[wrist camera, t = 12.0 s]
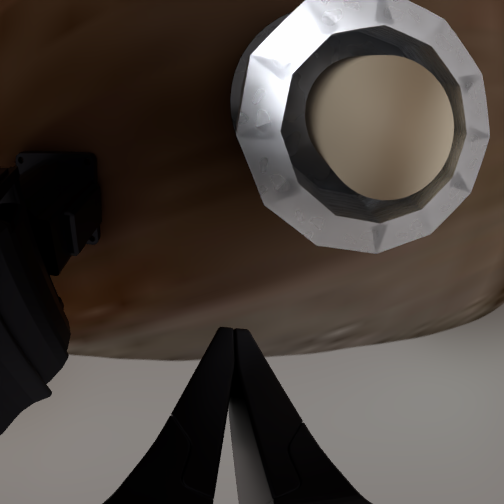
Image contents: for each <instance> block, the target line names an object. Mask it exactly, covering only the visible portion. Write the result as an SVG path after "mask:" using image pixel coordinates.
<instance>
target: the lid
mask: <svg viewBox="0 0 504 504" xmlns="http://www.w3.org/2000/svg"><path fill="white" fill-rule="evenodd" d="M305 122H306V128H307V132H308V135H309V138H310V140H311V142H312V144H313V146H314V148H315V149H316V151H317V152H318V153H319V155H320V156H321V157H322V158H323V159H324V161H325V162H326V163H327V164H328V165H329V166H330V168H331V169H332V170H333V171H334V172H335V174H336V175H337V176H338V177H339V178H340V179H341V180H342V181H343V183H344V184H346V185H347V186H348V187H349V188H351V189H352V190H354V191H355V192H357V193H359V194H361V195H363V196H366V197H369V198H372V199H378V200H395V199H400V198H404V197H407V196H410V195H412V194H414V193H416V192H418V191H420V190H421V189H423V188H424V187H425V186H427V185H428V184H429V183H430V182H431V181H432V180H433V179H434V178H435V177H436V176H437V175H438V173H439V172H440V171H441V169H442V168H443V166H444V164H445V162H446V160H447V158H448V156H449V153H450V150H451V146H452V142H453V135H454V120H453V113H452V108H451V105H450V102H449V99H448V96H447V94H446V92H445V90H444V89H443V87H442V85H441V84H440V82H439V81H438V80H437V79H436V78H435V76H434V75H433V74H432V73H430V72H429V71H428V70H427V69H426V68H424V67H423V66H422V65H420V64H418V63H416V62H414V61H413V60H410V59H407V58H404V57H400V56H395V55H361V56H351V57H347V58H344V59H341V60H339V61H336V62H334V63H333V64H331V65H330V66H328V67H327V68H326V69H325V70H324V71H322V72H321V74H320V75H319V76H318V77H317V78H316V80H315V81H314V83H313V85H312V87H311V89H310V91H309V93H308V97H307V100H306V107H305Z"/></svg>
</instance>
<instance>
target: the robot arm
mask: <svg viewBox="0 0 504 504" xmlns="http://www.w3.org/2000/svg"><path fill="white" fill-rule="evenodd" d="M21 157H22V158H23V161H22V160H21ZM86 158H88V159H89V160H90V162H91V163H90V164H88V163H87V162H86ZM101 221H102V218H101V201H100V188H99V186H98V185H97V160H96V157H95V155H94V154H92V153H87V152H43V151H30V152H21V153H19V154H18V155H17V156H16V166H15V167H10V168H0V435H1V434H2V433H3V432H4V431H5V430H6V429H7V428H8V426H9V425H10V424H11V423H12V422H13V420H14V419H15V418H16V417H17V416H18V415H19V414H20V413H21V412H22V411H23V410H24V409H26V408H27V407H29V406H30V405H32V404H33V403H35V402H37V401H40V400H42V399H45V398H48V397H50V396H51V394H52V391H51V390H50V389H49V387H48V386H47V385H46V384H47V383H48V382H50V380H52V378H53V377H54V376H55V375H56V374H57V373H58V372H59V371H60V370H61V369H62V367H63V366H64V364H65V362H66V360H67V359H68V356H69V355H68V352H67V349H68V344H69V339H70V335H71V333H70V327H69V321H68V319H67V317H66V315H65V313H64V311H63V308H64V304H63V302H62V300H61V298H60V297H58V294H57V292H56V290H55V287H54V285H53V283H52V280H51V278H50V275H54V276H58V275H59V274H60V272H61V271H62V269H63V268H64V266H65V265H66V263H67V262H68V260H69V259H70V257H71V256H77V255H78V254H79V253H80V252H81V250H82V249H83V247H84V246H85V244H92V245H94V244H97V242H98V241H99V239H100V228H99V224H100V223H101ZM91 236H94V237H95V239H94V238H92V237H91ZM228 409H229V420H230V429H231V440H232V448H233V457H234V466H235V476H236V484H237V492H238V500H239V504H372V503H371V502H369V501H368V500H366V499H365V498H364V497H363V496H362V495H360V493H359V492H358V491H357V490H356V489H355V488H354V487H353V486H352V485H351V484H350V482H349V481H348V480H347V479H346V478H345V477H344V476H343V474H342V473H341V472H340V471H339V470H338V469H337V468H336V466H335V465H334V464H333V463H332V462H331V460H330V459H329V458H328V457H327V455H326V454H325V453H324V452H323V450H322V449H321V448H320V447H319V445H318V444H317V442H316V440H315V439H314V438H313V436H312V435H311V433H310V432H309V430H308V428H307V427H306V425H305V423H302V419H301V417H300V416H299V414H298V412H297V411H296V409H295V407H294V406H293V404H292V403H291V401H290V399H289V398H288V396H287V394H286V393H285V391H284V389H283V388H282V386H281V384H280V383H279V381H278V379H277V378H276V376H275V374H274V373H273V371H272V369H271V368H270V366H269V364H268V362H267V361H266V359H265V357H264V356H263V354H262V352H261V350H260V349H259V347H258V345H257V343H256V342H255V340H254V338H253V337H252V335H251V333H250V331H249V330H247V329H238V328H236V329H234V330H233V328H228V327H219V328H218V330H217V332H216V334H215V336H214V337H213V339H212V341H211V343H210V345H209V346H208V348H207V350H206V352H205V354H204V356H203V357H202V359H201V361H200V363H199V365H198V367H197V368H196V370H195V372H194V374H193V375H192V377H191V379H190V381H189V383H188V385H187V386H186V388H185V390H184V392H183V394H182V395H181V397H180V399H179V401H178V403H177V404H176V406H175V408H174V410H173V412H172V413H171V416H170V417H169V419H168V420H167V422H166V424H165V426H164V427H163V429H162V431H161V432H160V434H159V435H158V437H157V439H156V440H155V442H154V443H153V445H152V446H151V447H150V449H149V450H148V452H147V453H146V454H145V456H144V457H143V458H142V459H141V461H140V462H139V463H138V464H137V466H136V467H135V468H134V469H133V471H132V472H131V473H130V474H129V476H128V477H127V478H126V479H125V481H124V482H123V483H122V484H121V486H120V487H119V488H118V489H117V490H116V491H115V492H114V493H113V494H112V495H111V496H110V497H109V498H108V499H107V500H106V501H105V502H104V503H103V504H213V499H214V494H215V488H216V482H217V475H218V468H219V463H220V457H221V450H222V444H223V438H224V430H225V425H226V418H227V412H228Z"/></svg>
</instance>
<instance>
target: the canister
mask: <svg viewBox="0 0 504 504" xmlns="http://www.w3.org/2000/svg"><path fill="white" fill-rule="evenodd" d="M361 55H395V56H400V57H404V58H407V59H410V60H413V61H414V62H416V63H418V64H420V65H422V66H423V67H424V68H426V69H427V70H428V71H429V72H430V73H432V74H433V75H434V76H435V78H436V79H437V80H438V81H439V82H440V84H441V85H442V87H443V89H444V90H445V92H446V94H447V96H448V99H449V102H450V105H451V108H452V113H453V120H454V135H453V142H452V146H451V150H450V153H449V156H448V158H447V160H446V162H445V164H444V166H443V168H442V169H441V171H440V172H439V173H438V175H437V176H436V177H435V178H434V179H433V180H432V181H431V182H430V183H429V184H428V185H427V186H425V187H424V188H423V189H421V190H420V191H418V192H416V193H414V194H412V195H410V196H407V197H404V198H400V199H395V200H378V199H372V198H369V197H366V196H363V195H361V194H359V193H357V192H355V191H354V190H352V189H351V188H349V187H348V186H347V185H346V184H344V183H343V181H342V180H341V179H340V178H339V177H338V176H337V175H336V174H335V172H334V171H333V170H332V169H331V168H330V166H329V165H328V164H327V163H326V162H325V161H324V159H323V158H322V157H321V156H320V155H319V153H318V152H317V151H316V149H315V148H314V146H313V144H312V142H311V140H310V138H309V135H308V132H307V128H306V122H305V107H306V100H307V97H308V93H309V91H310V89H311V87H312V85H313V83H314V81H315V80H316V78H317V77H318V76H319V75H320V74H321V72H322V71H324V70H325V69H326V68H327V67H328V66H330V65H331V64H333V63H334V62H336V61H339V60H341V59H344V58H347V57H351V56H361ZM230 102H231V116H232V121H233V127H234V130H235V133H236V136H237V139H238V141H239V143H240V146H241V148H242V151H243V153H244V155H245V158H246V160H247V163H248V165H249V168H250V170H251V173H252V175H253V178H254V180H255V183H256V186H257V188H258V191H259V193H260V196H261V198H262V201H263V204H264V206H266V207H267V208H269V209H270V210H271V211H273V212H274V213H275V214H277V215H278V216H279V217H280V218H282V219H283V220H284V221H286V222H287V223H288V224H290V225H291V226H292V227H294V228H295V229H296V230H297V231H299V232H300V233H301V234H303V235H304V236H305V237H306V238H308V239H309V240H310V241H312V242H313V243H314V244H315V245H316V246H324V247H331V248H339V249H346V250H353V251H360V252H368V253H375V254H377V253H380V252H383V251H385V250H388V249H391V248H394V247H397V246H399V245H402V244H405V243H408V242H410V241H413V240H416V239H419V238H421V237H424V236H427V235H429V234H431V233H432V232H433V231H434V230H435V229H436V228H437V227H438V226H439V225H440V224H441V223H442V222H443V221H444V220H445V219H446V218H447V217H448V216H449V215H450V214H451V213H452V212H453V211H454V210H455V209H456V208H457V207H458V206H459V205H460V204H461V203H462V201H463V200H464V199H465V198H466V197H467V196H468V195H469V194H470V193H471V190H472V188H473V185H474V183H475V180H476V177H477V174H478V171H479V169H480V166H481V163H482V160H483V157H484V154H485V151H486V147H487V144H488V141H489V138H490V133H489V121H488V111H487V103H486V95H485V89H484V82H483V76H482V73H481V72H480V70H479V69H478V67H477V65H476V64H475V62H474V60H473V59H472V57H471V56H470V54H469V53H468V51H467V50H466V48H465V47H464V45H463V44H462V42H461V41H460V40H459V38H458V37H457V35H456V34H455V33H454V31H453V30H452V29H451V27H450V26H449V25H448V23H447V22H446V21H445V19H443V18H441V17H439V16H437V15H436V14H434V13H432V12H430V11H428V10H426V9H424V8H422V7H420V6H418V5H416V4H414V3H412V2H410V1H408V0H305V1H304V2H303V3H302V4H300V5H299V6H298V7H297V8H296V9H295V10H294V11H293V12H291V13H289V14H286V15H284V16H282V17H280V18H278V19H277V20H275V21H274V22H272V23H271V24H269V25H268V26H267V27H265V28H264V29H263V30H262V31H261V32H260V33H259V34H258V35H257V36H256V37H255V38H254V39H253V41H252V42H251V43H250V44H249V45H248V47H247V48H246V50H245V52H244V53H243V55H242V57H241V59H240V61H239V63H238V66H237V68H236V71H235V74H234V78H233V82H232V88H231V98H230Z"/></svg>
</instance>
